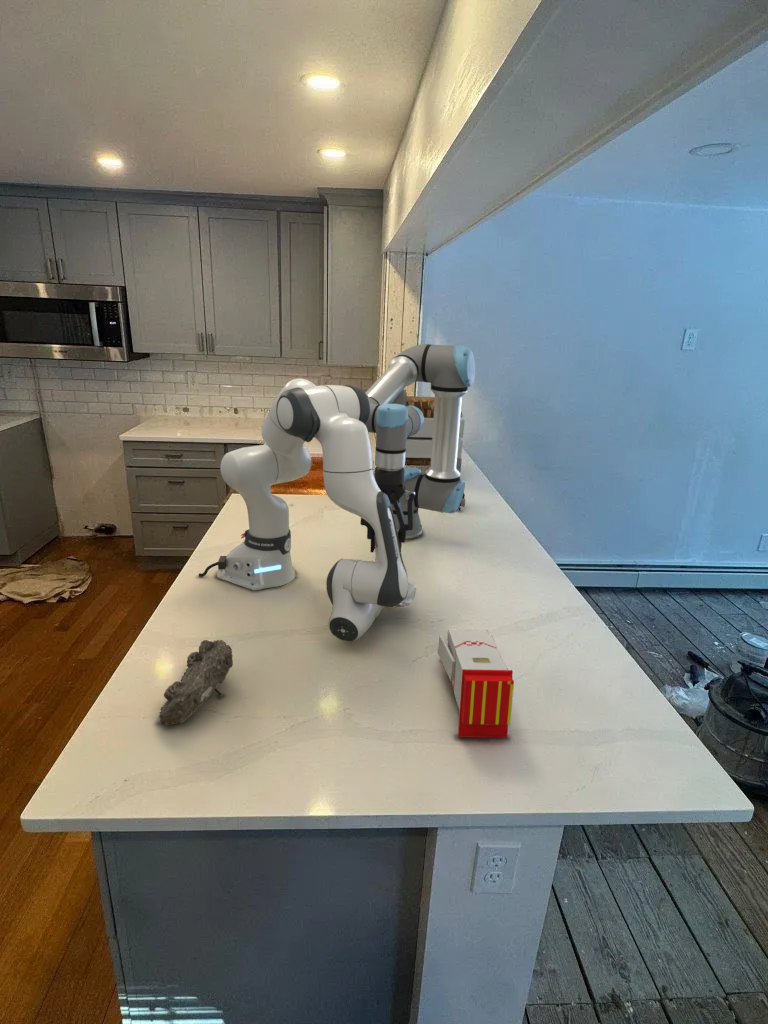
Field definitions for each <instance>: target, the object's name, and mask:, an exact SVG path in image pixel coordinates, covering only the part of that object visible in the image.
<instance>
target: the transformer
mask: <svg viewBox="0 0 768 1024" xmlns="http://www.w3.org/2000/svg"><path fill="white" fill-rule="evenodd" d="M407 394H408V393H407V390H406V389H405V388H404V389H403V390H402V392H401V393H400V394H399V395H398V396H397V397H396V399H395V400H394V401H393V402H392V403H391V404H401V405H404V406H415V407H417V408H419V409H420V410H421V412H422V413H423V416H424V424H423V427H422V428H421V430H419V431H418V432H417V433H416V434H415V435H412V436H410V437H408V438H406V455H405V466H406V467H417V466H418V467H430V465H431V449H432V434H433V419H434V404H435V396H415V395H414V396H413V395H412V396H411V395H407ZM464 429H465V419H464V418H463V411H461V417H460V428H459V440H458V452H457V464H456V469H457V470H458V471H459V472H460V475H461V472H462V461H463V460H462V453H463V442H464V441H463V440H462V439H463V438H464V431H465V430H464Z"/></svg>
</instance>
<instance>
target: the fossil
mask: <svg viewBox="0 0 768 1024" xmlns="http://www.w3.org/2000/svg"><path fill="white" fill-rule="evenodd" d="M233 658H234V656H233V650H232V647H231V645H229V644H227V643H226V641H224V640H223V639H216V640H213V641H212V640H208V639H203V640H202V641H201V642H200V645H198V651H193V652H191V653H189V655H188V656H187V658H186V659H187V660H186V667H187V668H186V669H185V671H184V672H183V674H182V675H181V678H180V680H176V681H174V682H173V683H172V684H171V685H169V686H168V687H167V688H166V690H165V692H164V693H163V697H164V698H165V699H166V701H165V703H164V705H162V706H160V709H159V710H160V712H159V713H158V714H159V716H158V717H159V719H160V723H164V724H165V725H166V726H167V725H168V726H170V725H171V726H172V725H174V724H175V725H176V724H179V723H180V724H183V723H184V722H185V721H186V720H187V719H188V718H189V717H190V716H191V715H193V714H194V713H195V712H196V711H197V710H198V709H199V708H200V707H201V706H203V705H204V704H205V703H206V702H207V700H208V698H209V697H210V696H211V694H213V693H214V692H215V693H216V694H217V695H218V696H222V693H221V691H220V690H219V689H218V688H217V687H218V685H219V684H222V683H223V681H224V680H226V676H227V675H228V673H229V671H230V669H231V668H232V667H233V665H234V660H233Z"/></svg>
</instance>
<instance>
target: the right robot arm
mask: <svg viewBox="0 0 768 1024" xmlns="http://www.w3.org/2000/svg"><path fill="white" fill-rule="evenodd" d="M475 377H476V362H475V357H474V353H473V351H472V350H471V348H469V347H467V346H461V345H451V344H450V345H449V344H430V343H421V344H420V343H419V344H416V345H413V346H410V347H408V348H406V349H404V350H403V351H400V352H399V353H398V354H397V355H395V356H394V357H393V358H392V359H391V360H390V362H389V363H388V365H387V369H386V370H385V371H384V372H383V373H382V374H381V375H380V376H379V377H378V379H377V380H375V382H374V383H372V385H370V387H369V388H368V389H367V390H366V391H364V392H365V393H366V395H367V397H368V400H369V404H370V414H369V418H368V421H367V422H366V424H365V426H366V427H367V430H368V433H371V434H372V433H373V434H375V452H374V453H375V455H374V466H375V468H374V473H375V480H376V483H377V485H378V487H379V489H380V490H381V491H382V492H383V493H385V494H386V495H387V496H388V498H389V501H390V504H391V507H392V511H393V515H394V520H395V525H396V530H397V535H398V540H399V545H400V550H401V551H402V543H403V544H405V542H406V541H410V540H415V539H418V538H420V537H421V536H422V535H423V525H422V524H421V518H420V515H419V509H420V510H427V511H433V512H438V513H442V514H443V513H445V514H454V513H456V512H457V511H458V510H459V509H458V507H459V505H460V503H461V500H462V497H463V494H465V489H466V481H465V480H463V479H461V474H460V472H459V471H458V470H457V469H456V464H457V452H458V440H459V428H460V417H461V412H462V403H463V396H464V395H466V394H467V393H468V389H469V388H470V387H472V386H473V384H474V383H475ZM419 382H421V383H430V391H431V392H432V393H433V394H434V397H435V404H434V419H433V434H432V449H431V465H430V466H429V468H427V469H426V470H425V473H423V474H422V470H421V468H419V467H416V466H406V465H405V455H406V438H408V437H410V436H412V435H415V434H416V433H417V432H418V431H419V430H421V428H422V427H423V424H424V416H423V413H422V412H421V410H420V409H419V408H417V407H415V406H404V405H401V404H391V403H392V402H393V401H394V400H395V399H396V397H397V396H398V395H399V394H400V393H401V392H402V390H403V389H404V390H405V388H406V387H409V386H411V385H413V383H419ZM461 418H462V417H461ZM359 524H360V526H365V527H366V529H367V530H366V538H367V540H370V553H375V545H374V536H375V531H374V529H373V527H372V526H371V525H370V524H369V523H368V522H367V521H366V520H364V519H363V518H361V517H360V523H359Z"/></svg>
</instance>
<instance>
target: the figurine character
mask: <svg viewBox="0 0 768 1024" xmlns="http://www.w3.org/2000/svg"><path fill="white" fill-rule="evenodd" d="M465 496H466V494H465V493H464V494H463V497H462V500H461V503H460V505H459V507H458V509H457V510H458V511H461V510H462V509H461V508H465V505H466V497H465Z"/></svg>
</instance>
